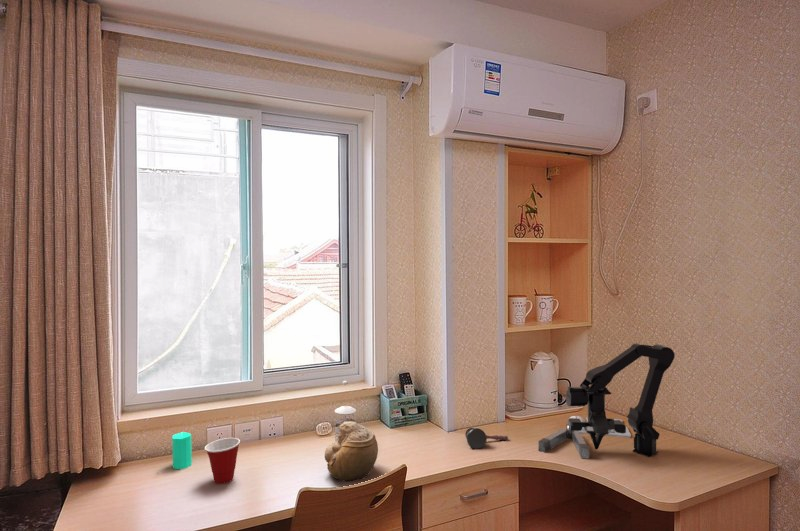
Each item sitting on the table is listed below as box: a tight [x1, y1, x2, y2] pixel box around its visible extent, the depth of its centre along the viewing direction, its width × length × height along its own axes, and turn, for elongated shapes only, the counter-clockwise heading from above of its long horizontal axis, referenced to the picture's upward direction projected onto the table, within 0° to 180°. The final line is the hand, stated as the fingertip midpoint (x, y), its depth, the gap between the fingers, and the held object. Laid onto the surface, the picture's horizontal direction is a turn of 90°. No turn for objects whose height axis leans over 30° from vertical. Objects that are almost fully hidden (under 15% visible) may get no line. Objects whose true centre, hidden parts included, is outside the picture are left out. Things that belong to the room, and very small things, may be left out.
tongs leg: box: [571, 431, 590, 459], centre depth 180 cm, size 18×3×4 cm, turn 171°
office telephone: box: [568, 415, 632, 439], centre depth 204 cm, size 23×3×20 cm
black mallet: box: [464, 427, 509, 450], centre depth 186 cm, size 8×18×8 cm
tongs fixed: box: [538, 423, 572, 453], centre depth 185 cm, size 22×4×5 cm, turn 136°
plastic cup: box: [204, 437, 241, 485], centre depth 157 cm, size 11×11×12 cm
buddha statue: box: [324, 421, 379, 482], centre depth 161 cm, size 20×17×17 cm
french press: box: [334, 380, 357, 442], centre depth 185 cm, size 10×12×25 cm
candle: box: [171, 431, 193, 470], centre depth 169 cm, size 6×6×12 cm
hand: (596, 449), depth 176 cm, fingers closed
